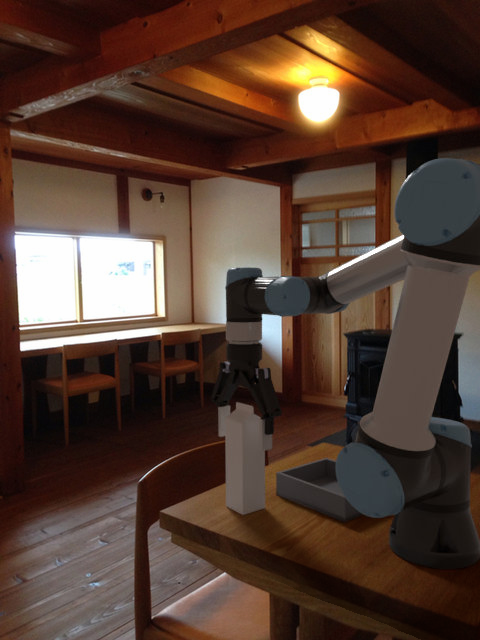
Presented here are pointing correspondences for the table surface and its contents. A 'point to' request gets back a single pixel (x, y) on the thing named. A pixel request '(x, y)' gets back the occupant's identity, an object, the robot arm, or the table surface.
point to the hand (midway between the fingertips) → (244, 442)
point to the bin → (316, 489)
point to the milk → (244, 461)
